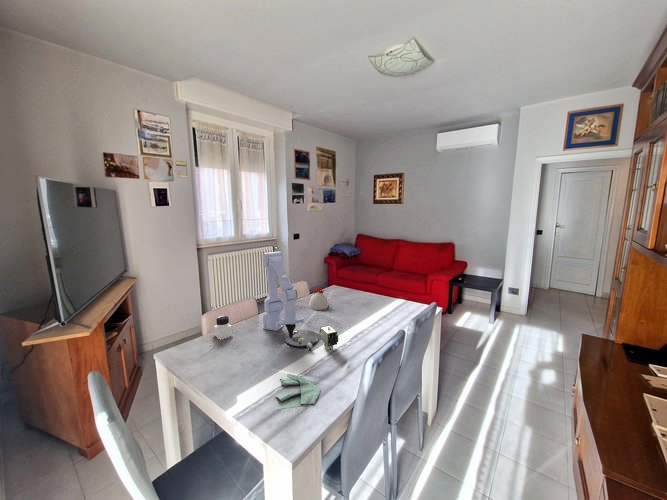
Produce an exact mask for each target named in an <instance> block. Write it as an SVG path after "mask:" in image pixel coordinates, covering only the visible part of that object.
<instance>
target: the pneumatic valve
mask: <svg viewBox="0 0 667 500" xmlns="http://www.w3.org/2000/svg"><path fill="white" fill-rule="evenodd" d="M319 334H320V337H321V340H320V341H322V342H323V345H324V346H323V347H324V348H323V350H324V351H326V352H327V353H328V352H329V353H331V352H333V351H334V346H335V345H336V346H337V345H338V343H339V335H338V331H337V330H336V328H334V327H332V326H330V325H324V326H320V329H319Z"/></svg>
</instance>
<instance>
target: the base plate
mask: <svg viewBox="0 0 667 500" xmlns="http://www.w3.org/2000/svg"><path fill="white" fill-rule="evenodd" d="M317 335H318V341H317V342H316V343H314V344H312V347H311V350H310V351H309V350H308V348H307V346H305V347H295V346H291V345H289V344H287V343H286V342H285V343H283V344H282V343H281V344H280V346H282V347H287V348H292V349H297V350H304V351H307V352H312V351H313V349H314V348H315V347H316V346H317V345H318V344H319V343H320V342H321V341H322V340H321V337H320V333H317Z"/></svg>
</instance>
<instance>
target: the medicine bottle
mask: <svg viewBox="0 0 667 500" xmlns="http://www.w3.org/2000/svg"><path fill="white" fill-rule="evenodd" d="M233 331H234V330H233V325H232V324H230V317H229V316H228V315H220V316H218V317H216V325H213V334H214V335H215V336H216V337H217V338H216V337H215V336H214V335H213V336H214V337H215V338H216V339H218V340H219V339H220V340H219V341H222V340H224V338H225V339H227V337H228V338H230V337H229V336H231V337H233V336H232V335H234V333H233ZM221 339H222V340H221Z"/></svg>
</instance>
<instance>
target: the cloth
mask: <svg viewBox="0 0 667 500" xmlns="http://www.w3.org/2000/svg"><path fill="white" fill-rule="evenodd" d="M286 377H287V378H284V379H283V378H280V379H279V381H280V382H281V383H280V384H281V387H284V386H285V387H286V386H287V387H291V386H299V389H300V390H297V391H296V390H294V391H288V392H283V393H279V394H277V395H275V398H278V400H279V402H280V403H279V404H278V405H277V406H276V410H281V409H282V410H283V409H290V408H297V407H303V406H306V405H311V404H312V405H315V404H316V401H317V400H318V398H319V396H320V395H321V388H320V387H318V386H317V385H315V384H314V383H313V382H311V381H310V380H308V379H307V378H304V377H303V376H298V375H296V374H292V373H291V374H290V373H287V374H286Z"/></svg>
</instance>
